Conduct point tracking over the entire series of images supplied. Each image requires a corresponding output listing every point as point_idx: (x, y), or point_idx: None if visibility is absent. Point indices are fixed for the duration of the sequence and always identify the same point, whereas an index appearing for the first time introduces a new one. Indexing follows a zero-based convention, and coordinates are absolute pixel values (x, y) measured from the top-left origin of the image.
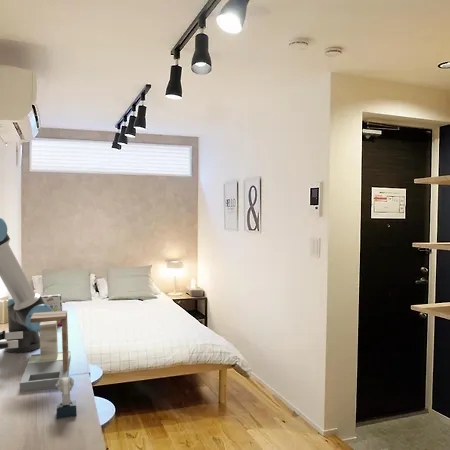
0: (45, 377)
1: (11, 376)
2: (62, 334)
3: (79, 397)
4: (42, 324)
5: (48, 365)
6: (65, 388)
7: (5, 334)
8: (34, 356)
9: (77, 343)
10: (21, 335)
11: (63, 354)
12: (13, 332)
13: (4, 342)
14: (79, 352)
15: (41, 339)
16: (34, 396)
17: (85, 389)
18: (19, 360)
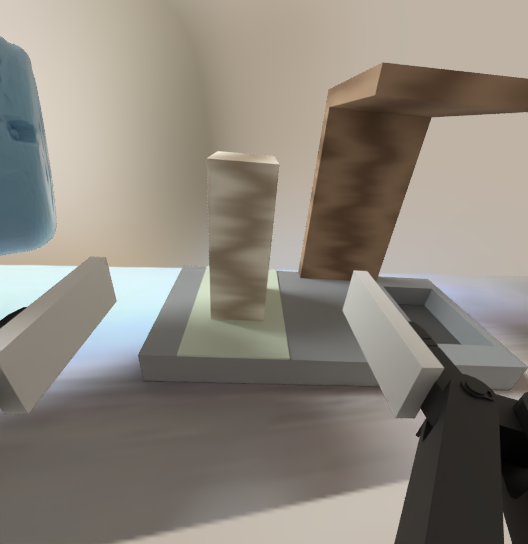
0: None
1: (341, 450)
2: (412, 173)
3: (472, 284)
4: (275, 162)
5: (323, 304)
6: None
7: (6, 365)
8: (187, 340)
9: (23, 268)
10: (107, 287)
11: (389, 237)
12: (64, 295)
13: (410, 333)
14: (139, 270)
15: (271, 238)
16: (518, 350)
17: (427, 277)
18: (49, 446)
